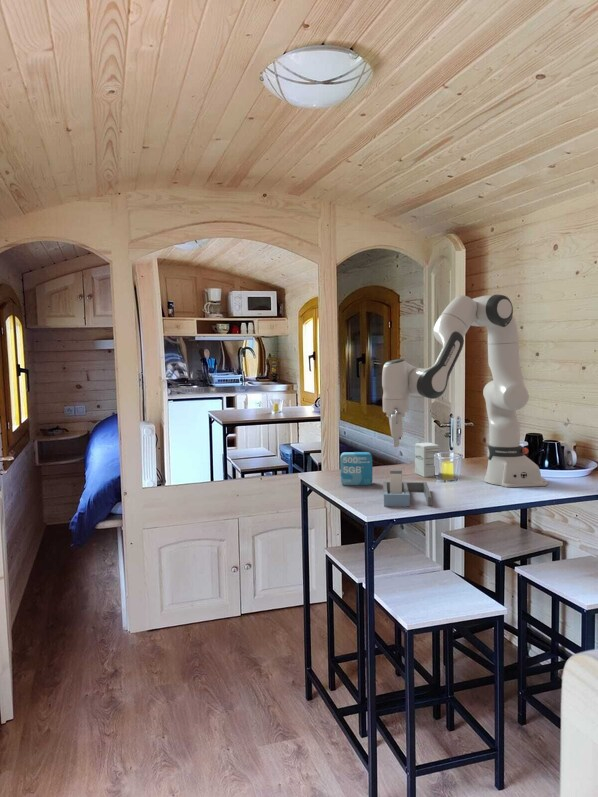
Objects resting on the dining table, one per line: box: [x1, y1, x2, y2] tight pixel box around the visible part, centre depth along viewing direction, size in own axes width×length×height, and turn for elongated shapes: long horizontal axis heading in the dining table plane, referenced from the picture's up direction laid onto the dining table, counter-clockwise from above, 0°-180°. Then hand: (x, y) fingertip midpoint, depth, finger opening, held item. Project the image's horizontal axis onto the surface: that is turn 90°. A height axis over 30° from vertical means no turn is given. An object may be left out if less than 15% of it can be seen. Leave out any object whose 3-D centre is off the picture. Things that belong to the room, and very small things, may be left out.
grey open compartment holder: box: [382, 481, 433, 508], centre depth 211 cm, size 16×22×4 cm
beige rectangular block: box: [389, 467, 403, 494], centre depth 211 cm, size 4×4×10 cm
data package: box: [339, 451, 373, 486], centre depth 232 cm, size 12×4×12 cm, turn 87°
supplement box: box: [414, 442, 440, 478], centre depth 245 cm, size 7×7×13 cm
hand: (396, 446), depth 209 cm, fingers closed
